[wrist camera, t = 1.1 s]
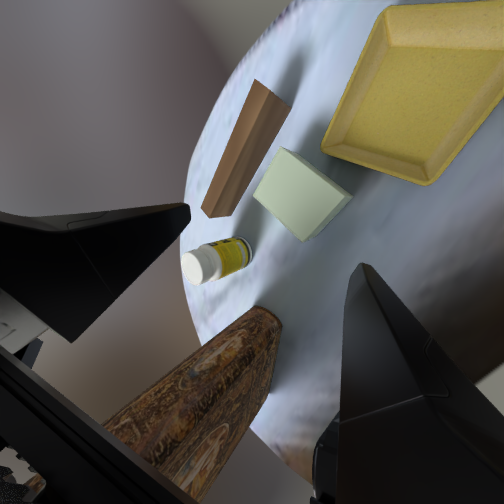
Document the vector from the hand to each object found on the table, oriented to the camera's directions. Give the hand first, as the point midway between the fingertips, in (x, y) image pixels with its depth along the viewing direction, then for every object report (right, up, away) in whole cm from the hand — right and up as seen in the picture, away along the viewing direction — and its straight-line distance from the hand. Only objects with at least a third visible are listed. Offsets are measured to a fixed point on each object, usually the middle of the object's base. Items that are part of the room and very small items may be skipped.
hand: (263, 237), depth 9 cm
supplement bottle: (-2, -1, +18) cm, 18 cm away
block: (+5, +5, +10) cm, 12 cm away
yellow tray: (+11, +10, +5) cm, 15 cm away
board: (-1, +10, +13) cm, 16 cm away
